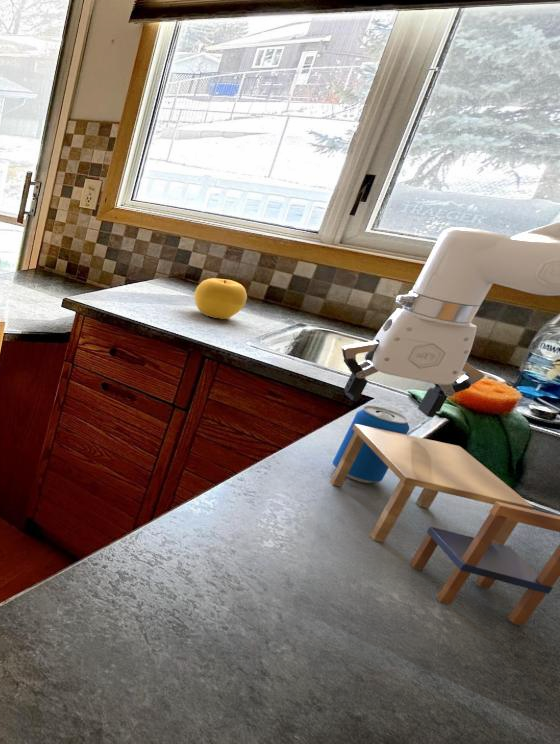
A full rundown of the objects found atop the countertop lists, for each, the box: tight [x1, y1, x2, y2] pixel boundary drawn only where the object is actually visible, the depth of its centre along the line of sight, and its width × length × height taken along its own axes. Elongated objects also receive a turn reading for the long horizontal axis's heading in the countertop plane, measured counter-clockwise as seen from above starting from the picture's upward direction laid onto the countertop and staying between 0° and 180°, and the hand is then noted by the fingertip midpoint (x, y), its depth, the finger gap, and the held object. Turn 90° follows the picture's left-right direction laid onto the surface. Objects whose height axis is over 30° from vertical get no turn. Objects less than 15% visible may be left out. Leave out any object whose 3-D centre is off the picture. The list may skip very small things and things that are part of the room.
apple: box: [194, 277, 248, 320], centre depth 184 cm, size 13×13×11 cm
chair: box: [409, 501, 560, 627], centre depth 77 cm, size 8×8×15 cm
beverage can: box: [332, 405, 410, 484], centre depth 103 cm, size 6×6×12 cm
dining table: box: [329, 424, 534, 545], centre depth 92 cm, size 13×17×11 cm
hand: (387, 405), depth 101 cm, fingers open, 9 cm apart
